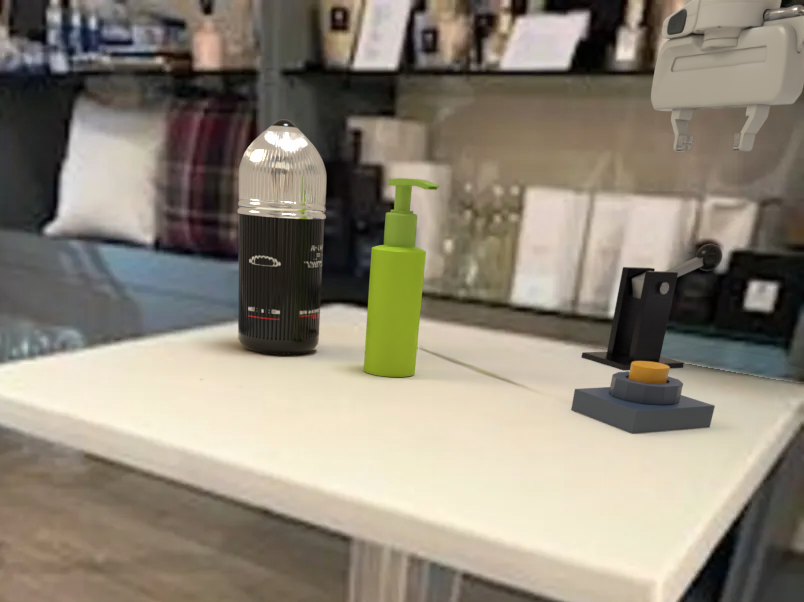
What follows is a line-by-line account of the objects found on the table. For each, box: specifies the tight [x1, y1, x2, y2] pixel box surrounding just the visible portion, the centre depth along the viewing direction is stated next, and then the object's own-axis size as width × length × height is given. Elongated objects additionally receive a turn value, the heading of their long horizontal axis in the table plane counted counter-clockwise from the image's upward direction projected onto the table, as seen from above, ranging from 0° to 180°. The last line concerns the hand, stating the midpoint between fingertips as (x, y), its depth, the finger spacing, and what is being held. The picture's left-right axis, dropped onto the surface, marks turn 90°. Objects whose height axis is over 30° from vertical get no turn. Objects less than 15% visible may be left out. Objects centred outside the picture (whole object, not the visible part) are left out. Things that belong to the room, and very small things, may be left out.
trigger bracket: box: [581, 266, 685, 371], centre depth 110 cm, size 10×8×12 cm
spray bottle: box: [236, 118, 327, 356], centre depth 103 cm, size 10×10×25 cm
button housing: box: [570, 371, 716, 435], centre depth 86 cm, size 10×9×4 cm
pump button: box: [628, 361, 671, 384], centre depth 85 cm, size 4×4×2 cm
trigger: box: [632, 243, 723, 299], centre depth 109 cm, size 13×3×3 cm, turn 116°
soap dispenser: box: [363, 177, 440, 378], centre depth 95 cm, size 6×7×20 cm
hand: (710, 151), depth 106 cm, fingers open, 8 cm apart
